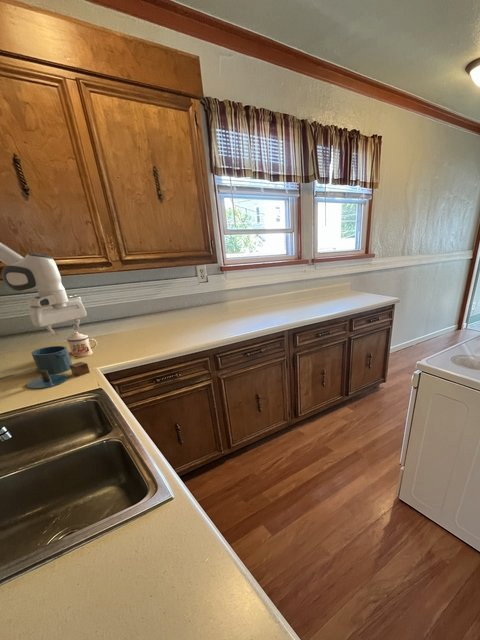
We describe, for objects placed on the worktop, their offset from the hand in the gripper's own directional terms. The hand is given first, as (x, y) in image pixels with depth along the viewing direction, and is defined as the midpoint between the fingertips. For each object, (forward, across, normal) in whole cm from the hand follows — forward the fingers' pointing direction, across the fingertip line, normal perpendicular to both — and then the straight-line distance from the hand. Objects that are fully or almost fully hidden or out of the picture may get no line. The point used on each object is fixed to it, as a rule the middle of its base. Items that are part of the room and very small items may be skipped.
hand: (66, 332), depth 135 cm
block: (+18, +1, +3) cm, 18 cm away
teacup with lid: (+18, -18, -21) cm, 34 cm away
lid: (+17, +13, -1) cm, 22 cm away
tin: (+18, +2, -12) cm, 22 cm away
